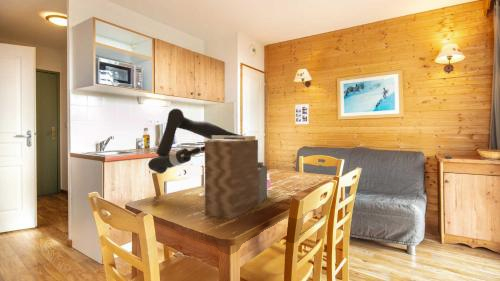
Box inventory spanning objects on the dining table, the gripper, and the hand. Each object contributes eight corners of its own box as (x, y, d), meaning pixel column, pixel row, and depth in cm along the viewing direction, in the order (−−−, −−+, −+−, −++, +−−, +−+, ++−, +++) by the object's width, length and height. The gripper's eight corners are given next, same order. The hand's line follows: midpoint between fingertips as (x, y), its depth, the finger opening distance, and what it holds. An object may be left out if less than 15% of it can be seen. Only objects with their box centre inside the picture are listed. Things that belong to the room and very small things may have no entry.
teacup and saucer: (207, 192, 158) (207, 185, 158) (217, 194, 153) (217, 187, 153) (195, 195, 152) (195, 188, 151) (205, 197, 146) (205, 190, 146)
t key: (208, 139, 132) (208, 135, 132) (217, 139, 139) (217, 135, 139) (247, 140, 122) (247, 136, 122) (255, 140, 129) (255, 135, 129)
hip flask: (259, 204, 133) (260, 164, 132) (252, 203, 134) (252, 164, 133) (267, 196, 148) (267, 160, 147) (260, 196, 149) (260, 160, 148)
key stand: (205, 214, 118) (204, 138, 116) (233, 200, 139) (233, 136, 137) (232, 219, 111) (232, 139, 110) (257, 204, 133) (257, 137, 131)
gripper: (169, 152, 139) (193, 143, 133) (185, 148, 152) (208, 139, 146) (174, 166, 139) (198, 157, 133) (190, 161, 152) (213, 152, 146)
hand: (203, 148), depth 139 cm, fingers open, 8 cm apart
